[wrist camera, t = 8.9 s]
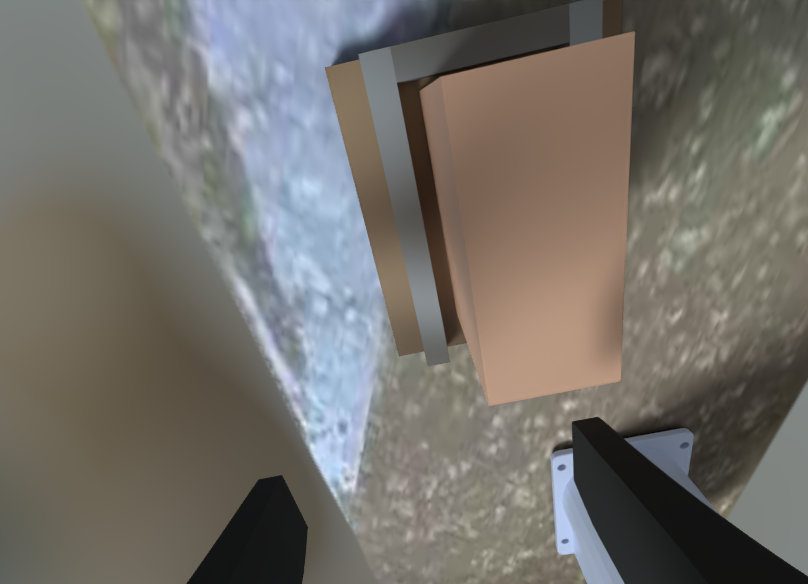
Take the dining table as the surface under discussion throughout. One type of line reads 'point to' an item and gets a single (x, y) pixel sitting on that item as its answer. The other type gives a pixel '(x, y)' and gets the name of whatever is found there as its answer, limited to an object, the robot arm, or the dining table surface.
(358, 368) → the dining table surface
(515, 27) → the walnut cradle
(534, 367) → the block
